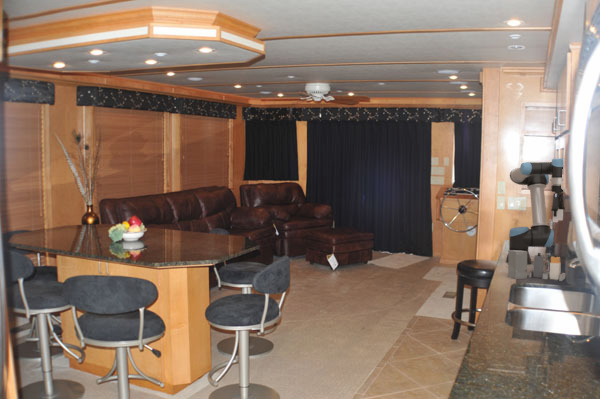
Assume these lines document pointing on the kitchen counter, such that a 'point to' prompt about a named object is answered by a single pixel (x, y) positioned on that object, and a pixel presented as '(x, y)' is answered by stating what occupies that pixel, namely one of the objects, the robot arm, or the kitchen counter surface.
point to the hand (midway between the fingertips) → (557, 221)
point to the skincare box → (517, 264)
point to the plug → (555, 267)
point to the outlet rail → (547, 276)
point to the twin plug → (538, 265)
